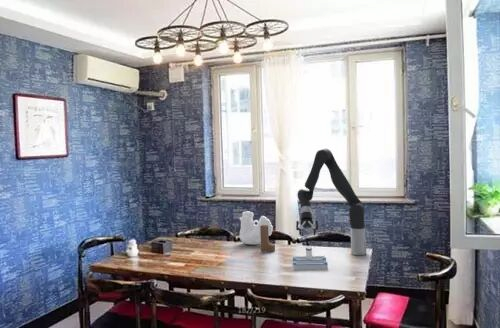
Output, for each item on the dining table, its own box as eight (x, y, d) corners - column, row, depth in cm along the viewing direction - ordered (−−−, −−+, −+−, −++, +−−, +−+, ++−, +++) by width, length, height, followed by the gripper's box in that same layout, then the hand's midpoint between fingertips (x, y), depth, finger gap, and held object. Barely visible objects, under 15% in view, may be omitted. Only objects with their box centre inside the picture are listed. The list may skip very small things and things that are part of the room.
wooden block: (275, 250, 288) (274, 225, 287) (273, 252, 284) (272, 226, 283) (263, 249, 292) (262, 224, 291) (260, 251, 288) (259, 225, 287)
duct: (324, 259, 262) (324, 253, 262) (327, 269, 242) (327, 262, 241) (292, 259, 264) (292, 253, 264) (293, 269, 243) (292, 262, 243)
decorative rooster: (236, 245, 306) (235, 212, 305) (245, 241, 321) (243, 209, 320) (268, 248, 297) (266, 213, 295) (275, 242, 311) (274, 210, 310)
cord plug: (312, 261, 259) (311, 247, 259) (312, 262, 255) (311, 248, 255) (306, 261, 259) (305, 247, 259) (306, 263, 256) (305, 248, 255)
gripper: (295, 211, 276) (296, 232, 266) (317, 210, 275) (318, 231, 264) (295, 217, 282) (296, 238, 271) (316, 217, 281) (318, 238, 270)
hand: (307, 235), depth 268 cm, fingers open, 8 cm apart
